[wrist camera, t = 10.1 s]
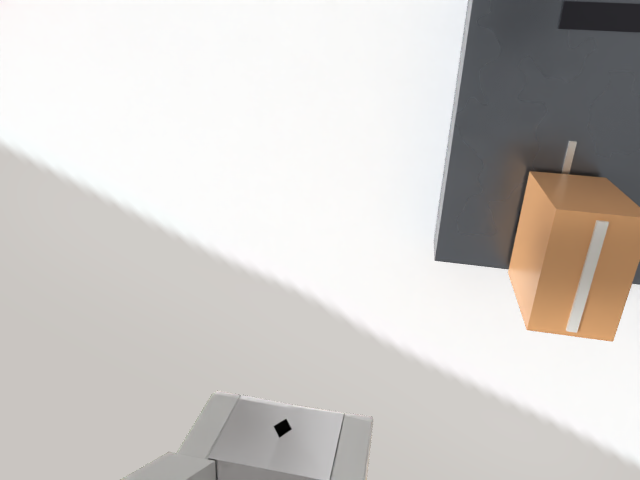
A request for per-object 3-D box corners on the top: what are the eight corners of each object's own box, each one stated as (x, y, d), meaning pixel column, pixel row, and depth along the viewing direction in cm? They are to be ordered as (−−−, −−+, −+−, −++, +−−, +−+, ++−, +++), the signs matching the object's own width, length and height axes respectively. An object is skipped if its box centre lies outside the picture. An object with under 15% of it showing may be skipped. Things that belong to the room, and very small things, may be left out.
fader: (529, 171, 18) (557, 210, 14) (606, 177, 17) (654, 219, 14) (507, 272, 19) (527, 331, 16) (577, 280, 19) (613, 343, 15)
